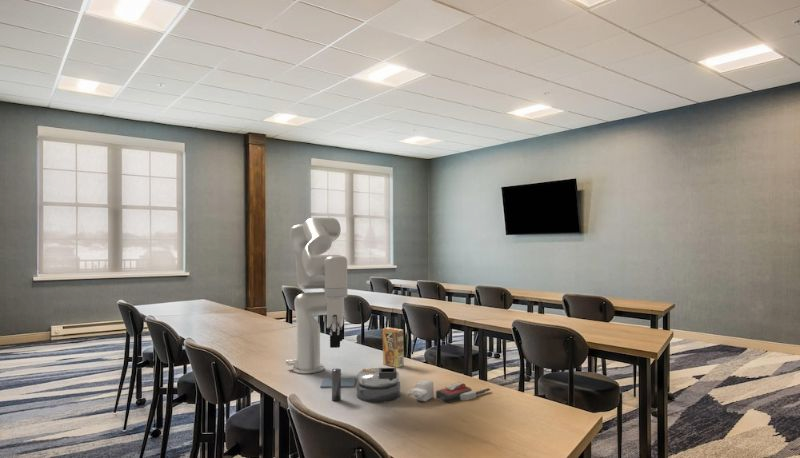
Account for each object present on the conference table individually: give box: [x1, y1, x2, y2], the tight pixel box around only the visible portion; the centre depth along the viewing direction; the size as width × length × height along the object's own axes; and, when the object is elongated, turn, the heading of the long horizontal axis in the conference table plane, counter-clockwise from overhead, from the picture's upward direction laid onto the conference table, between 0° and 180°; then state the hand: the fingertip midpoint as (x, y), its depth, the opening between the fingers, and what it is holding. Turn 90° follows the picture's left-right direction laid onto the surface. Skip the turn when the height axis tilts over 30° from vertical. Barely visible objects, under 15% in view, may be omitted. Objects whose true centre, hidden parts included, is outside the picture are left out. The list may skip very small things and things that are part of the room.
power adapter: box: [406, 379, 435, 402], centre depth 154 cm, size 11×5×6 cm, turn 145°
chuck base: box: [356, 381, 401, 404], centre depth 161 cm, size 15×15×4 cm
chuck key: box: [331, 368, 342, 402], centre depth 156 cm, size 3×3×10 cm
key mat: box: [320, 376, 356, 389], centre depth 174 cm, size 12×10×1 cm
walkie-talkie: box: [435, 381, 491, 403], centre depth 160 cm, size 9×4×20 cm
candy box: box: [381, 327, 405, 368], centre depth 199 cm, size 9×4×15 cm, turn 49°
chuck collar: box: [357, 367, 400, 389], centre depth 161 cm, size 14×14×5 cm
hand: (336, 344), depth 156 cm, fingers open, 9 cm apart
